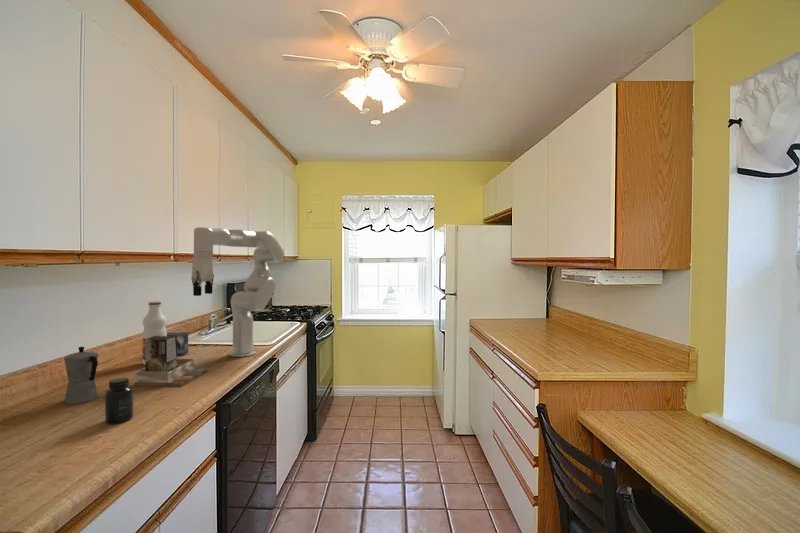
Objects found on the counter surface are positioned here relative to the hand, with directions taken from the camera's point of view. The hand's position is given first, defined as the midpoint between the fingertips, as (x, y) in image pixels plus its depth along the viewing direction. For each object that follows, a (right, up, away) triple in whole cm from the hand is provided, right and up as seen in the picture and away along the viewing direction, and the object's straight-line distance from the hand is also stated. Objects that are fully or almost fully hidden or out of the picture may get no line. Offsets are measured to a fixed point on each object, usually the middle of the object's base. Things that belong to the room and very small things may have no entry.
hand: (203, 294), depth 169 cm
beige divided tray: (-4, -33, -14) cm, 36 cm away
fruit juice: (-26, -32, +7) cm, 41 cm away
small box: (-26, -32, +23) cm, 47 cm away
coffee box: (-7, -32, -19) cm, 37 cm away
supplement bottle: (+3, -34, -54) cm, 64 cm away
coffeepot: (-20, -33, -39) cm, 55 cm away
